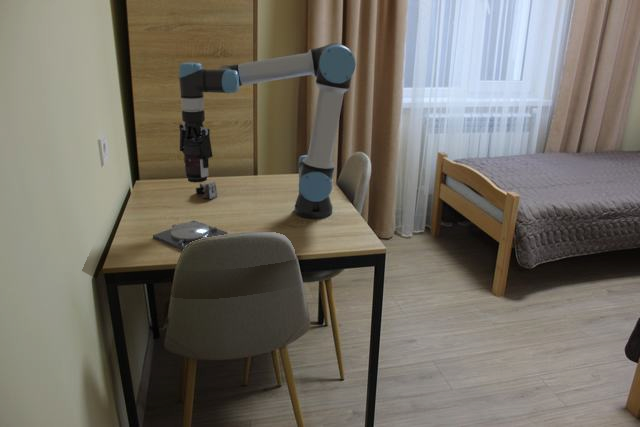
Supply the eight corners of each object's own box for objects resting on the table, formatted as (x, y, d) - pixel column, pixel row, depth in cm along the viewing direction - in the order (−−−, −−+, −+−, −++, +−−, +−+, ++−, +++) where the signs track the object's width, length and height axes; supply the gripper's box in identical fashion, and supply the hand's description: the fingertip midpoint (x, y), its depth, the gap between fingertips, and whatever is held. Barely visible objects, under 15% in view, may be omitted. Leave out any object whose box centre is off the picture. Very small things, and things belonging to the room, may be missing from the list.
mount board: (227, 235, 181) (227, 227, 180) (186, 252, 167) (186, 244, 166) (193, 223, 191) (192, 215, 190) (152, 238, 178) (151, 230, 177)
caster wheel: (202, 197, 227) (223, 196, 224) (189, 200, 216) (211, 198, 213) (201, 182, 226) (221, 180, 223) (188, 184, 215) (209, 182, 213)
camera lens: (200, 184, 179) (197, 142, 174) (181, 181, 182) (178, 139, 176) (213, 178, 186) (211, 137, 181) (194, 175, 189) (192, 135, 183)
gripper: (221, 112, 172) (224, 177, 180) (183, 105, 184) (187, 166, 192) (203, 115, 166) (207, 182, 174) (165, 107, 178) (170, 170, 186)
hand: (197, 173), depth 183 cm, fingers closed on camera lens, 8 cm apart
